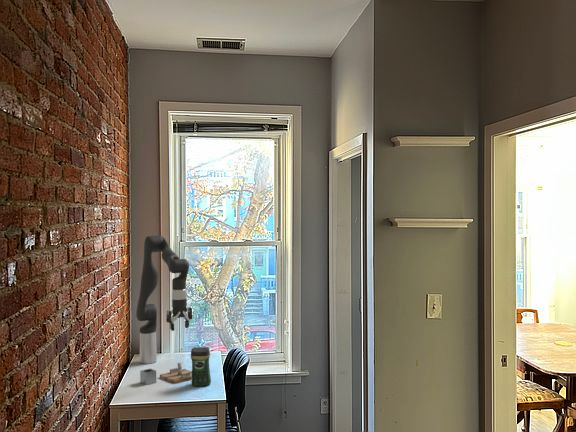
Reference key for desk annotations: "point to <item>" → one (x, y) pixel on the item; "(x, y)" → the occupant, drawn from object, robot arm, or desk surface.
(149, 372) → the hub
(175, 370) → the stand
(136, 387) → the desk surface
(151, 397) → the desk surface
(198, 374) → the coffee jar
